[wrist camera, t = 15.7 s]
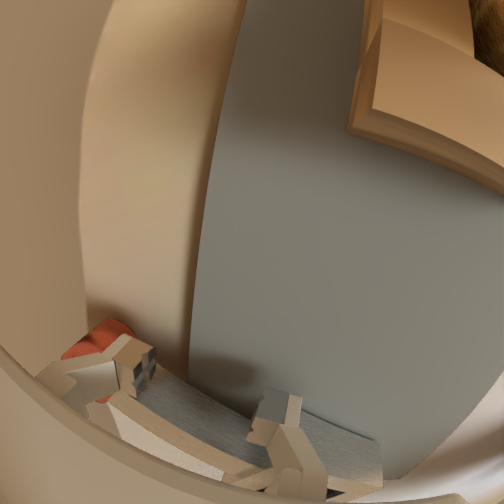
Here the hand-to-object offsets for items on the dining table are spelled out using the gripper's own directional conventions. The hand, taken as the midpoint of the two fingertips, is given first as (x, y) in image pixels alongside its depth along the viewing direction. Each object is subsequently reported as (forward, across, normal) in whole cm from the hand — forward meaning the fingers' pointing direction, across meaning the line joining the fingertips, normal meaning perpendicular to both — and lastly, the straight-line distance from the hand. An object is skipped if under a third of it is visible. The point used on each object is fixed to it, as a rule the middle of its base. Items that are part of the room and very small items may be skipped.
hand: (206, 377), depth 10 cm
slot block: (+1, -6, -14) cm, 15 cm away
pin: (+1, -6, -14) cm, 15 cm away
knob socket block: (+1, -1, +4) cm, 4 cm away
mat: (+2, -7, -4) cm, 8 cm away
